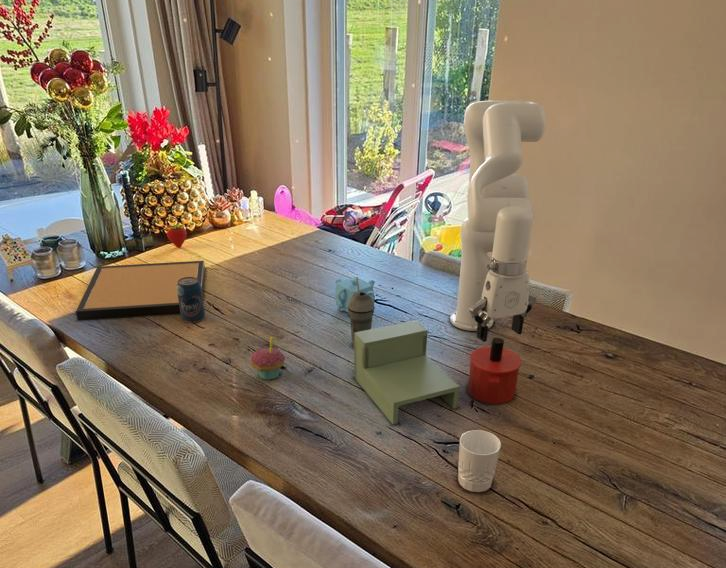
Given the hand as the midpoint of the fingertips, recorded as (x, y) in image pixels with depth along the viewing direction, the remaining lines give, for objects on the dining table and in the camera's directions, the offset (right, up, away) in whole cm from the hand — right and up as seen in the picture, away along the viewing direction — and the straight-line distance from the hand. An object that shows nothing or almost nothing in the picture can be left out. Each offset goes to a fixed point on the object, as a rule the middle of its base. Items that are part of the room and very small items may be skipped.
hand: (499, 335), depth 146 cm
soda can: (-82, +8, +41) cm, 92 cm away
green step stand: (-22, -13, +8) cm, 27 cm away
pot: (0, -13, +9) cm, 16 cm away
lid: (0, -6, +4) cm, 7 cm away
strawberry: (-101, +41, +91) cm, 142 cm away
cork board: (-102, +19, +57) cm, 118 cm away
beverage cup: (-32, 0, +28) cm, 43 cm away
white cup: (-9, -31, -19) cm, 38 cm away
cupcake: (-56, -9, +14) cm, 58 cm away
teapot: (-34, +12, +47) cm, 59 cm away
